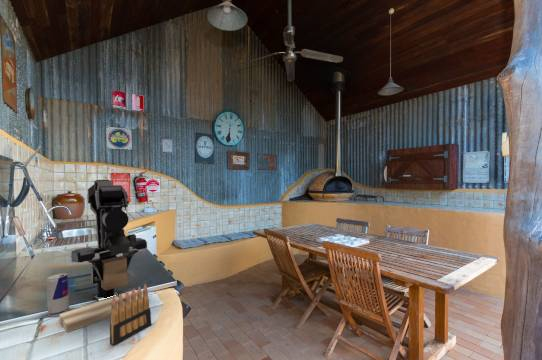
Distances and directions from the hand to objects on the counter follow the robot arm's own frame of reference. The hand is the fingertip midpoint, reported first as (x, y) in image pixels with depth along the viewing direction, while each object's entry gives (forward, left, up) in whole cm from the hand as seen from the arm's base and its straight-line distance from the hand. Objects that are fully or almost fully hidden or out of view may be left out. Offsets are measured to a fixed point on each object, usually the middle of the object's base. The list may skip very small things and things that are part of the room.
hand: (113, 276), depth 80 cm
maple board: (-7, -1, -12) cm, 14 cm away
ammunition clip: (+14, -1, -13) cm, 19 cm away
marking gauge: (-4, 0, -2) cm, 5 cm away
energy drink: (-18, -11, -13) cm, 24 cm away
